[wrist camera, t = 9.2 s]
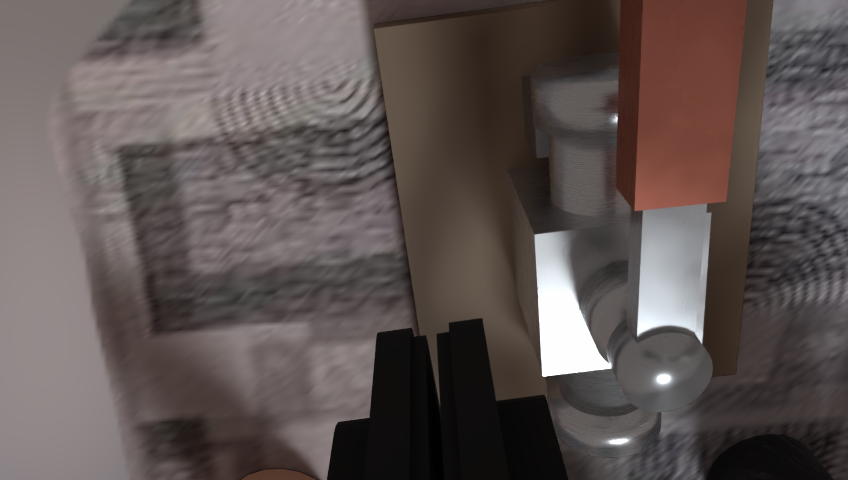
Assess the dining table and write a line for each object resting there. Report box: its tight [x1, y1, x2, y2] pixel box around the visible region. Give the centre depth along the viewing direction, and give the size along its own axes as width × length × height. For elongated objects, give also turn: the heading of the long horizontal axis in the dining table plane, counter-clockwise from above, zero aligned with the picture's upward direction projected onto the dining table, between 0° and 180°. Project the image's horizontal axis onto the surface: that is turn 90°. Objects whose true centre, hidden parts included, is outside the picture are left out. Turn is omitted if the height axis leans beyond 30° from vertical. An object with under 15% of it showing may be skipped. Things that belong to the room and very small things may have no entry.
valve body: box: [507, 52, 711, 458], centre depth 30 cm, size 7×18×10 cm, turn 7°
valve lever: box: [607, 0, 747, 412], centre depth 22 cm, size 15×3×2 cm, turn 6°
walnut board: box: [374, 0, 773, 404], centre depth 36 cm, size 18×22×2 cm
